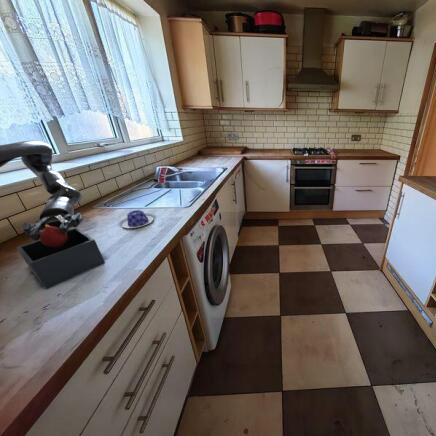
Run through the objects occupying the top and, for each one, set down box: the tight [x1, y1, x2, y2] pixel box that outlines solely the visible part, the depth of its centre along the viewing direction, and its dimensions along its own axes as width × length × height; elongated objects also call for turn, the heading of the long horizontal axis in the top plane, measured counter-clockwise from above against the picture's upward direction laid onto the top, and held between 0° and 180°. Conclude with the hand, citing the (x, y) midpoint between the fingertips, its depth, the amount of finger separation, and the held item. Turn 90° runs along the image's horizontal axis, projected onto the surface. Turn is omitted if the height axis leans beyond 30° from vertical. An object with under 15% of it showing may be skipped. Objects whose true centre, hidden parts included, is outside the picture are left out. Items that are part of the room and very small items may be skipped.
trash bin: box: [16, 227, 106, 290], centre depth 72 cm, size 15×15×9 cm
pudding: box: [121, 209, 154, 229], centre depth 100 cm, size 12×12×5 cm
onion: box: [39, 225, 68, 248], centre depth 69 cm, size 6×6×8 cm
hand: (48, 234), depth 66 cm, fingers closed on onion, 5 cm apart
